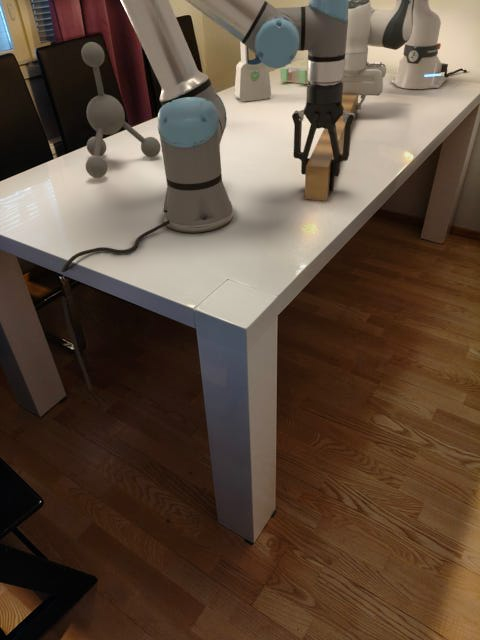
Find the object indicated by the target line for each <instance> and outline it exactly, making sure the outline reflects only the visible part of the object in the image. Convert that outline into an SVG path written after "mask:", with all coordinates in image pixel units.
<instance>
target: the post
mask: <svg viewBox="0 0 480 640" xmlns="http://www.w3.org/2000/svg"><path fill="white" fill-rule="evenodd" d="M359 96H360V95H357V94H342V106H343V108H344V110H345V111H347V112H349V113H351V112H354V113H355V117H354V119H353V122H352V124H351V130H352V129H353V126H354V123H355V121H356V117H357V115H358V110H356V104H357V103H359ZM335 124H336V132H337V138H338V143H339V149H340V154H343V144H344V129H345V124H346V123H344V122H343V117H342V116H341V117H340V118H339V119H338V121H337V122H336V123H335ZM309 158H310V159H309V161H308V163H307V165H306V174H305V177H306V180H305V179H304V180H305V181H304V182H305V183H304V185H305V186H304V200H313V201H325V202H326V201H327V200H328V196H329V193H330V191H329V183H330V168H331V162H332V159H333V160H334V157H333V152H332V147H331V141H330V136H329V133H328V129H325V128H323V131H322V132H321V134H320V136H319V138H318V140H317V142H316V144H315V147H314V149H313V151H312V153H311V155H310V157H309ZM334 178H336V176H334Z"/></svg>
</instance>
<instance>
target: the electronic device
mask: <svg viewBox="0 0 480 640" xmlns="http://www.w3.org/2000/svg"><path fill="white" fill-rule="evenodd" d="M239 46H240V47H239V48H240V60H239V62H238V63H237V64H236V68H235V69H236V70H235V80H234V82H235V83H234V95H235V96H236V97H237V99H239V100H240V101H241V102H242V103H244V102H251V101H261V100H268V99H270V97H271V95H272V89H271V78H270V67H268V66H266V65H265V64H263V63H262V62H261V61H260V59H259V58H258V56H257V55H256V53H254V54H255V55H254V56H255V58H253V59H249V58H250V57H249V48H248V47H246V46H245V45H244V44H243V43H242V42H241V41H239Z"/></svg>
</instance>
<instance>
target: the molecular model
mask: <svg viewBox="0 0 480 640" xmlns="http://www.w3.org/2000/svg"><path fill="white" fill-rule="evenodd" d="M80 53H81V54H80V55H81V59H82V60H83V62H84V63H85V64H86V65H87V66H89V67H91V68H92V70H93V75H94V80H95V85H96V90H97V95H96V96H94V97H93V98H91V99H90V101H89V102H88V104H87V107H86V118H87V121H88V123H89V126H90V127H91V128H92V129H93V130H94V131H95V136H91V137H89V139H88V140H87V142H86V149H87V151H88V153H89V154H90V155H91V156H90V157H88V158H87V159H86V162H85V170H86V172H87V174H88V175H89V176H90V177H92V178H96V179H100V178H103V177H104V176H106V175H107V172H108V163H107V161H106V160H105V159H104V158H103V157H102V156H103V155H105V154H106V152H107V144H106V141H105V140H104V135H106V136H109V135H114V134H116V133H118V132H119V131H120V130H121V129H122V128H123V129H125V130H126V131H127V132H128V133H129V134H130V135H131V136H133V137H134V138H135V139H136V140H137V141H138V142H140V150H141V152H142V154H143V155H144V156H146V157H147V158H155V157H157V156H159V154H160V153H161V142H160V141H159V139H157V138H156V137H153V136H147V137H144V136H142V134H140V133H139V132H138V131H136V129H135V128H133V127H132V126H131V125H130V124H129V123H127V122H126V121H125V120H126V114H125V110H124V107H123V105H122V104H121V102H120V101H119V100H118V99H117V98H116V97H114V96H112V95H110V94H105V91H104V86H103V79H102V75H101V71H100V70H101V69H100V66H102V65H103V63H104V62H105V57H106V55H105V51H104V49H103V48H102V46H101V45H100V44H99V43H97V42H95V41H88V42H86V43H85V44H84V45H82V48H81V52H80Z"/></svg>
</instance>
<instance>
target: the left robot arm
mask: <svg viewBox="0 0 480 640" xmlns="http://www.w3.org/2000/svg"><path fill="white" fill-rule="evenodd" d="M185 1H186V2H187V3H188V4H190V5H191V6H193V7H194V8H195V9H196V10H198V11H199V12H201V13H202V14H203V15H205V16H206V17H207V18H209V19H210V20H211V21H212V22H214V23H215V24H217V25H218V26H219V27H221V28H222V29H224V30H225V31H226V32H227V33H228V34H230V35H231V36H233V37H234V38H235V39H237V40H238V41H239V42H240V41H241V42H242V43H243V44H244V45H245V46H246V47H248V50H249V51H250V52H251V53H253V54H255V53H256V55H257V56H258V58H259V59H260V61H261V62H262V63H263V64H265V65H266V66H268V67H269V69H270V68H271V69H281V68H283V67H285V66H286V65H288V64H289V63H290V62H291V63H292V62H293V60H294V59H295V58H296V56H297V54H298V52H299V51H301V52H303V51H307V59H308V66H307V80H308V81H310V82H309V83H308V84H306V102H305V106H304V108H303V109H301V110H295V111H294V112H293V113H292V115H291V118H292V121H293V125H294V129H293V135H294V136H293V158H294V159H298V160H300V162H301V166H300V173H301V175H306V165H307V163H308V161H309V159H310V157H309V155H310V151H311V148H312V144H313V142H314V138H315V134H316V132H317V129H318V130H319V129H324V128H325V129H328V133H329V136H330V141H331V147H332V152H333V157H334V160H333V159H332V162H331V168H330V183H329V192H333V190H334V187H335V177H339V175H340V171H341V163H342V162H346V161H348V160H349V156H350V150H351V149H350V148H351V136H352V135H351V134H352V129H351V124H352V122H353V119H354V117H355V113H354V112H351V113H349V112H347V111H345V110H344V108H343V106H342V94H343V83H342V82H341V81H342V80H343V78H344V66H345V52H346V40H347V28H348V21H349V20H348V3H349V1H350V0H309V1H308V5H304V6H298V7H296V6H295V7H294V6H293V7H291V6H290V7H275V6H273V5H272V4H270V3H269V2H268V1H267V0H185ZM120 2H121V4H122V7H123V8H124V11H125V13H126V15H127V17H128V19H129V21H130V23H131V25H132V28H133V30H134V32H135V34H136V36H137V39H138V40H139V43H140V45H141V47H142V49H143V51H144V54H145V56H146V57H147V60H148V62H149V64H150V66H151V69H152V71H153V73H154V75H155V78H156V79H157V81H158V83H159V85H160V88H161V92H160V95H159V99H158V100H159V102H160V104H161V107H160V108H159V110H158V113H157V130H158V135H159V139H160V148H161V153H162V159H163V168H164V174H165V180H166V190H165V191H166V192H165V196H164V203H163V207H162V218H163V222H162V223H160V224H159V225H156V226H154V227H153V228H151V229H148V230H147V231H145V232H143V233H142V234H140V235H139V236H138V237H137V238H136V239H135V241H134V244H133V245H132V246H131V247H129V248H126V249H117V248H113V247H106V246H100V247H95V248H94V247H93V248H90V249H86V250H83V251H80V252H77V253H75V254H73V256H71V257H70V258H69V259H67V261H66V262H65V264H64V265H63V266H62V268H61V271H60V272H61V273H66V272H67V270H68V268H69V267H70V265H71V264H73V262H74V261H75V260H76V259H78V258H80V257H82V256H84V255H89V254H94V253H97V252H110V253H114V254H123V255H124V254H129V253H131V252H133V251H135V250H136V249H137V248H138V246H139V242H140V241H141V240H143V239H144V238H145V237H147V236H149V235H151V234H153V233H154V232H157V231H158V230H161V229H162V228H164V227H165V226H167V227H168V228H169V229H171V230H173V231H177V232H180V233H190V234H191V233H192V234H193V233H194V234H195V233H196V234H197V233H205V232H206V233H207V232H210V231H215V230H216V229H220V228H222V227H224V226H226V225H227V224H228V223H230V221H231V220H232V218H233V216H234V212H233V211H234V210H233V205H232V201H231V200H230V197H229V195H228V192H227V190H226V187H225V184H224V182H223V175H222V174H223V173H222V161H221V142H222V138H223V136H224V133H225V130H226V126H227V120H228V119H227V109H226V106H225V103H224V102H223V100H222V99H221V97H220V96H219V94H218V93H216V92H215V89H214V87H213V84H212V82H211V80H210V77H209V75H208V74H206V73H204V72H201V71H200V70H199V69H198V67H197V64H196V62H195V59H194V58H193V55H192V52H191V50H190V48H189V45H188V42H187V41H186V38H185V36H184V33H183V30H182V28H181V26H180V23H179V21H178V19H177V16H176V14H175V12H174V10H173V7H172V5H171V2H170V0H120ZM341 116H342V117H343V122H344V123H346V124H345V129H344V144H343V154H340V149H339V143H338V138H337V132H336V124H335V123H336V122H337V121H338V119H339V118H340V117H341ZM304 117H305V118H306V120H307V121H308V122H309V123H310V126H309V129H308V133H307V138H306V140H305V144H304V148H303V151H302V130H303V128H302V127H303V120H304ZM334 176H335V177H334ZM304 180H306V176H305V179H304ZM61 300H62V307H63V313H64V318H65V323H66V327H67V331H68V334H69V337H70V341H71V343H72V347H73V349H74V352H75V354H76V357H77V360H78V362H79V365H80V367H81V370H82V373H83V376H84V379H85V382H86V386H87V387H88V390H89V391H92V390H93V388H92V384H91V381H90V377H89V375H88V372H87V368H86V366H85V364H84V361H83V357H82V355H81V352H80V350H79V348H78V347H79V346H78V345H77V341H76V339H75V335H74V332H73V329H72V325H71V321H70V315H69V309H68V303H67V297H66V296H63V295H62V296H61Z"/></svg>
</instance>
